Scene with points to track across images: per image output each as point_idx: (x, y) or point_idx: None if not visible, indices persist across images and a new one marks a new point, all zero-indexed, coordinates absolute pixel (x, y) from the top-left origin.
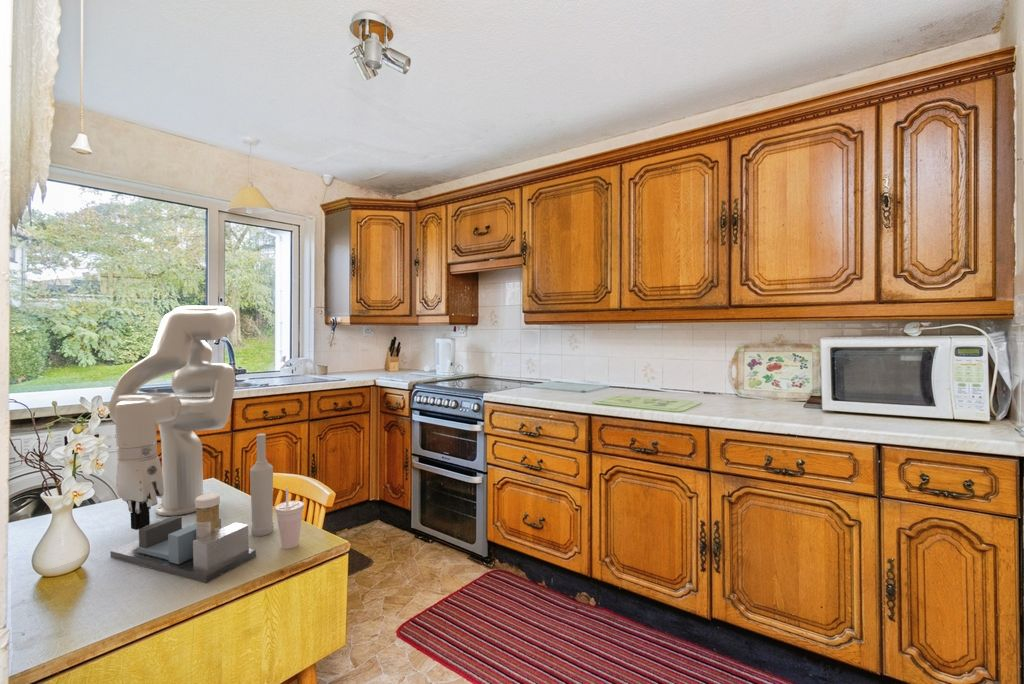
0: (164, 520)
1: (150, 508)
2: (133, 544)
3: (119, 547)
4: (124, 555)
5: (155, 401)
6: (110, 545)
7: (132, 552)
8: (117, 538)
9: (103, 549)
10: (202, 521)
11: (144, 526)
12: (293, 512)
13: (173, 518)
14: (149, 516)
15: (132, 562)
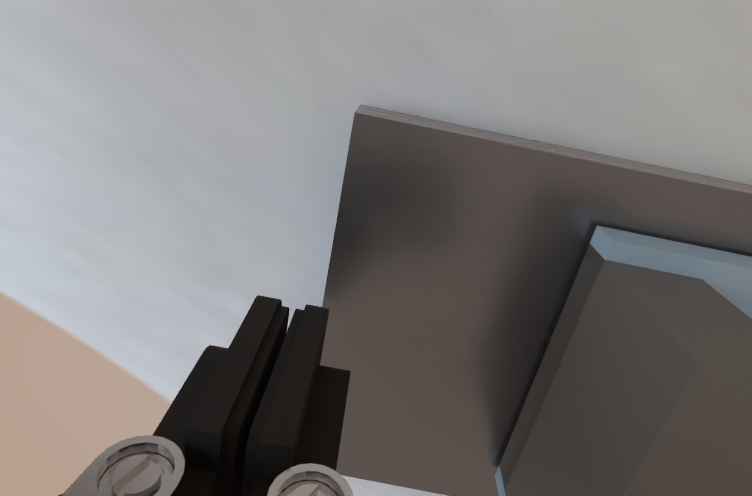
0: (663, 491)
1: (347, 487)
2: (356, 384)
3: None
4: (431, 486)
5: None
6: (129, 313)
7: (460, 471)
8: (47, 217)
9: (150, 361)
10: None
11: (322, 349)
12: None
13: (745, 436)
14: (314, 361)
15: None
